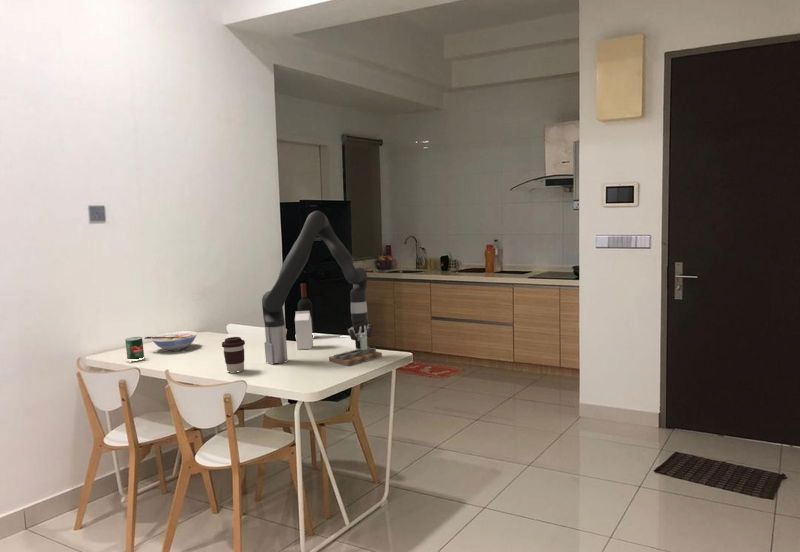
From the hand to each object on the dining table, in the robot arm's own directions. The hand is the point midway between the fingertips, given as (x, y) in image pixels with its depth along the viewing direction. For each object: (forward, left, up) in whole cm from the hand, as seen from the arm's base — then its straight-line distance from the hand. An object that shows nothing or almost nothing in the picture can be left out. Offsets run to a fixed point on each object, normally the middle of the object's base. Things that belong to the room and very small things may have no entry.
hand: (361, 347), depth 294 cm
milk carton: (-5, +40, -5) cm, 41 cm away
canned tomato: (-71, +92, -5) cm, 116 cm away
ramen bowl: (-48, +98, -5) cm, 109 cm away
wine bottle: (+9, +59, -5) cm, 60 cm away
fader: (0, 0, -2) cm, 2 cm away
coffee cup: (-50, +28, -5) cm, 57 cm away
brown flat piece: (-4, 0, -5) cm, 6 cm away
